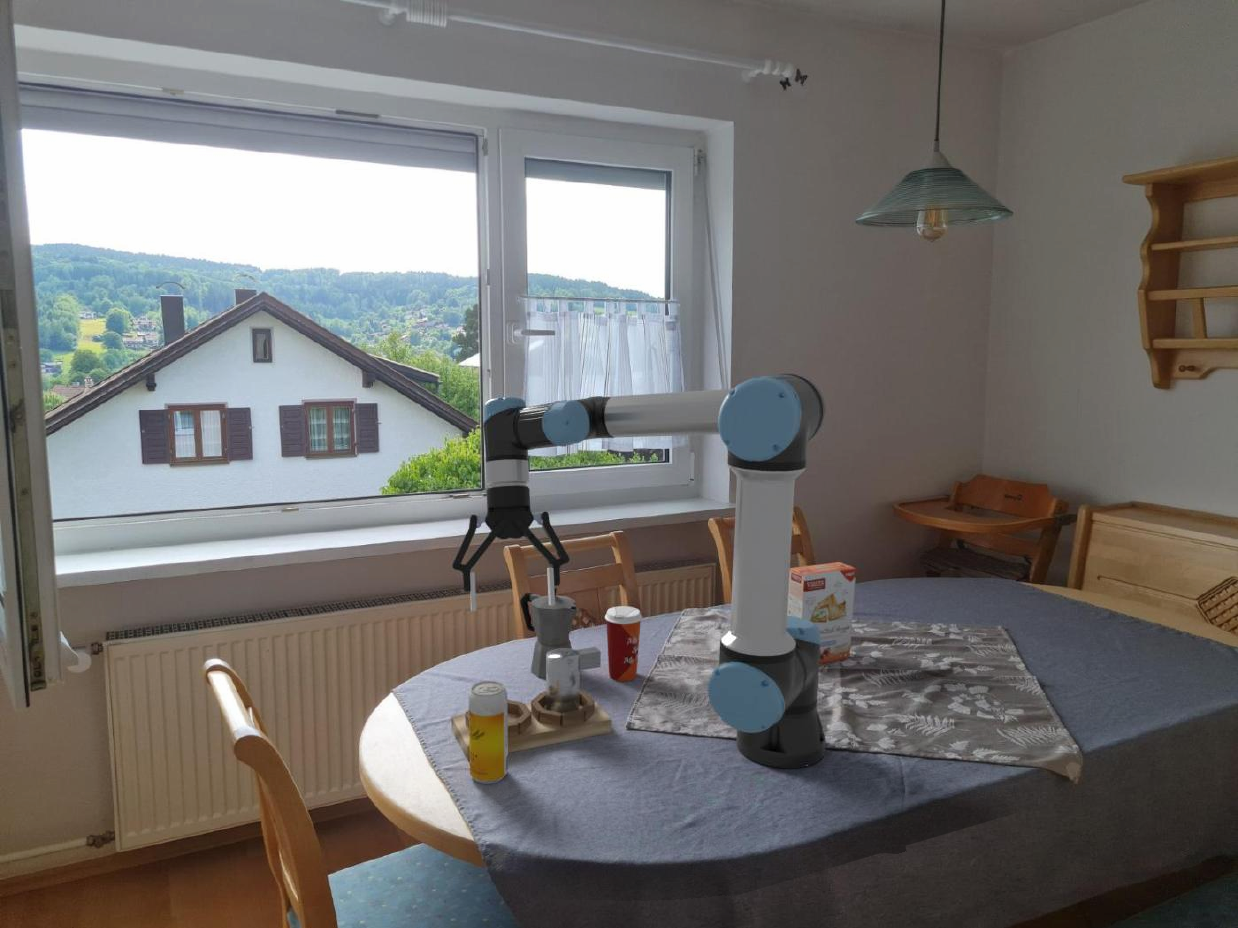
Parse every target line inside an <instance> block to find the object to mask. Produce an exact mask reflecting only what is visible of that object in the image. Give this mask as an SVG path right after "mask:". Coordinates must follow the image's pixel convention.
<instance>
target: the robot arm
mask: <svg viewBox="0 0 1238 928" xmlns="http://www.w3.org/2000/svg"><path fill="white" fill-rule="evenodd" d="M526 404H527V403H526V401H525V400H524V399H523V398H521V397H512V396H506V397H504V396H503V397H495V398H491V399H489V400H487V401H486V402H485V403H484V406H483V421H482V427H483V435H484V436H483V437H484V448H485V449H484V450H485V481H486V483H485V484H486V485H487V486H489V487H488V488H487V490H486V507H487V508H486V512H487V513H486V516H483V515H482V516H481V515H479V516H478V515H476V514H471V516H469V521H468V529H467V531H466V534H465V535H464V538H463V540H462V543H461V544H460V547H459V549H458V551H457V552H456V553H457V554H456V556H455V558H454V560H453V562H452V564H451V568H452V569H453V570H457V571H460V572H461V573H462V582H463V584H462V586H463V590H464V592H469V593H470V597H469V598H470V611H471V612H476V611H477V601H476V600H477V598H476V597H477V596H476V578H475V577H476V575H475V574H476V573H475V572H473V571H472V569H473V568H474V566H475V565H476V563H478V561H479V560H480V559H481V557H482V556H483V555H484V553H485V552H486V550H488V549H489V547H490V546H491V544H492V543H493V542H494V541H495V539H496V538H497V539H499V540H502V541H503V540H508V539H513V540H516V539H519V540H520V539H521V538H525V540H527V542H529V543H530V544H531V546H533V548H535V550H536V551H537V552H538V553H539V554H540V555H541V556H542V558H544V559H545V560H546V562H548V564H549V565H550V567H547V568H546V572H547V573H546V574H547V576H546V577H547V594H548V595H547V596H548V599H549V605H550V606H554V605H555V591H554V588H555V587H556V586H560V585H561V574H560V573H561V571H560V569H561V566H562V565H566V564H567V563H569V562H570V557H569V555H568V553H567V551H566V550H565V548H564V546H563V544H562V542H561V541H560V539H559V537H558V535H557V534H556V532H555V529H554V527H553V526H552V525H551V521H550V515H549V514H550V513H549V512H547V511H542V512H539V513H532V510H531V493H530V492H531V490H530V487H529V486H527V484H528V483H529V482H530V471H529V470H530V469H529V451H531V450H536V449H545V448H547V449H549V448H555V447H567V446H572V445H575V444H579V443H582V442H583V441H586V440H594V439H595V440H596V439H613V438H639V437H640V438H642V437H643V438H645V437H671V436H672V437H674V436H675V437H676V436H677V437H678V436H705V435H709V436H711V435H719V436H720V438H721V441H722V442H723V444H724V445H725V446H726V448H727V463H726V464H727V467H728V468H729V469H730V470H731V472H733V474H735V475H736V493H735V514H734V515H735V516H734V535H733V536H734V537H733V538H734V540H733V559H732V560H733V562H732V580H731V581H732V583H731V602H730V603H731V604H730V605H731V606H730V607H731V610H730V626H729V627H728V628H727V629H725V630H724V631H723V632H722V633H721V634H720V637H719V638H720V639H719V651H718V652H719V653H718V666H716V668H714V669H713V670H712V673H711V675H710V677H709V679H708V682H707V688H706V689H707V697H708V701H709V703H710V706H711V707H712V709H713V711H714V713H715V714H717V715H718V716H719V718H720V719H721V721H723V722H724V723H725V724H726V725H727V726H729V727H731V728H733V729H735V730H736V741H735V742H736V747H737V749H738V750H739V752H740V753H741V754H742V755H743V756H745V757H746V758H748V760H749V759H750V760H751V761H753V762H756V763H758V764H761V765H764V766H768V767H772V768H780V769H798V768H797V767H801V768H805V767H804V766H806V765H810V766H812V764H813V765H814V763H815V764H817V763H818V761H819V760H820V759H821V758H822V757H823V756H824V757H825V755H826V742H827V741H826V735H825V731H824V728H823V725H822V721H821V719H820V714H819V710H818V692H819V676H820V675H819V673H820V664H819V659H820V645H821V641H820V629H819V627H818V626H817V625H816V624H815V623H813V622H811V621H809V620H806V619H803V618H799V617H794V616H787V611H788V593H789V575H790V568H791V555H792V536H793V535H792V534H793V517H794V516H793V515H794V503H795V502H794V501H795V500H794V499H795V498H794V497H795V482H796V479H797V478H798V477H799V476H800V475H801V474H802V473H803V472H804V471H805V470H806V469H807V453H808V443H809V442H810V441H811V440H813V439H814V438H815V437H816V436H817V434H818V433H819V432H820V430H821V429H822V427H823V425H824V423H825V422H824V421H825V418H826V411H827V409H826V408H827V407H826V401H825V398H824V395H823V393H822V392H821V390H820V388H819V387H818V386H817V385H816V383H814V382H813V381H812V380H811V379H809V378H807V377H805V376H803V375H800V374H796V373H780V374H774V375H764V376H763V375H762V376H760V375H759V376H754V377H752V378H749V379H747V380H744V381H743V382H741V383H739V384H737V385H736V386H735V387H733V388H726V389H725V388H724V389H710V390H709V389H708V390H693V391H691V390H690V391H677V392H674V391H673V392H661V393H660V392H659V393H647V394H646V393H645V394H630V395H615V396H603V395H601V396H600V395H599V396H598V395H597V396H595V395H594V396H589V397H586V398H580V399H571V400H566V399H565V400H557V401H553V402H547V403H543V404H537V405H532V406H527V405H526ZM534 521H536V523H537V524H538V525H539V526H542V529H543V531H544V533H545V535H546V536H547V538H548V540H549V541H550V544H551V545H552V548H553V549H554V551H555V552H556V554H557V556H558V558H556V556H555V555H553V553H552V552H551V551H549V549H548V548H547V547H546V546H545V545H544V544H543V543H542V542H541V540H540V539H538V538H537V537H536V535H535V534H534V533H533V532H532V531H531V529H530V527H531V525H532V524H533V522H534ZM483 523H484V524H486V526H487V528H488V529H489V530H490V532H489V533H488V534H487V536H486V537H485V539H484V540H483V541H482V543H480V545H479V546H478V547H477V548H476V550H475V551H474V553H473V554H472V555H471V556H470V558H469V559H468V560H467V561H466V563H465V564H462V562H463V559H465V558H464V557H465V555H466V553H467V551H468V549H469V547H470V545H471V543H472V540H473V538H474V535H475V533H476V531H477V529H479V528H481V527H482V524H483ZM824 754H825V755H824ZM824 757H823V758H824ZM823 758H822V759H823ZM822 759H821V760H822ZM821 760H820V761H821ZM820 761H819V762H820ZM816 762H817V763H816ZM802 766H803V767H802ZM806 767H807V766H806Z"/></svg>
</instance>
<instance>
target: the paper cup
mask: <svg viewBox="0 0 1238 928" xmlns="http://www.w3.org/2000/svg"><path fill="white" fill-rule="evenodd" d="M604 619H605V620H606V621H605V622H606V637H607V640H606V641H607V657H608V658H607V659H608V674H609V678H610V679H611V680H613V681H617V682H630V681H634V680H635V679H636V677H637V672H638V662H639V661H638V659H639V646H640V633H641V623H642V622H641V621H642V620H643V615H641V611H640V610H639V609H638V608H635V607H633V606H628V605H621V606H620V605H619V606H613V607H610V608H608V609H607V610H606V614H605V615H604Z"/></svg>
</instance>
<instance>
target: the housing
mask: <svg viewBox="0 0 1238 928" xmlns="http://www.w3.org/2000/svg"><path fill="white" fill-rule="evenodd" d="M507 714H508V754H509V753H514V752H520V751H523V750H529V749H533V748H534V749H535V748H539V747H545V746H550V745H555V744H560V743H564V742H569V741H575V740H579V739H580V740H581V739H586V738H590V737H595V736H596V737H597V736H599V735H600V736H602V735H606V734H611V733H612V718H611V717H610V716H609V715H608V714H607V713H606V712H605V710H603V708H602V707H601V706H600V705H599V704H598V703H597V702H596V701H595V700H594V699H593V698H592V697H591V696H590V695H589V693H588V692H585V691H582V690H580V710H576V711H570V712H565V713H559V712H554V711H549V710H546V690H545V691H542V692H540V693H538V695H536V696H535V697H534V698H533V699H532V700H531V702H526V703H524V702H522V701H517V700H510V699H507ZM450 719H451V721H450V722H451V724H450V725H451V731H452V733H453V735H454V737H455V739H456V741H457V743H458V744H459V746H460V748H461V750H462V752H463V754H464V757H466V760H467V761H470V752H469V709H468V710H467V711H465V713H463V714H457V715H451V716H450Z"/></svg>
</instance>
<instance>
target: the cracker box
mask: <svg viewBox="0 0 1238 928" xmlns="http://www.w3.org/2000/svg"><path fill="white" fill-rule="evenodd" d="M856 575H857V568H855V567H853V566H851V565H849V564H846V563H843V562H841V561H837V562H836V561H835V562H829V563H821V564H813V565H803V566H795V567H790V575H789V593H788V611H787V616H794V617H799V618H803V619H806V620H809V621H811V622H813V623H815V624H816V625H817V626H818V627H819V629H820V641H821V645H820V659H819V665H823V664H827V663H832V662H837V661H838V660H839V661H842V660H843V659H844V660H848V659H847V658H849V659H850V655H851V642H852V629H853V617H854V604H855V603H854V602H855V591H856V590H855V589H856V588H855V587H856ZM844 660H843V661H844Z"/></svg>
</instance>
